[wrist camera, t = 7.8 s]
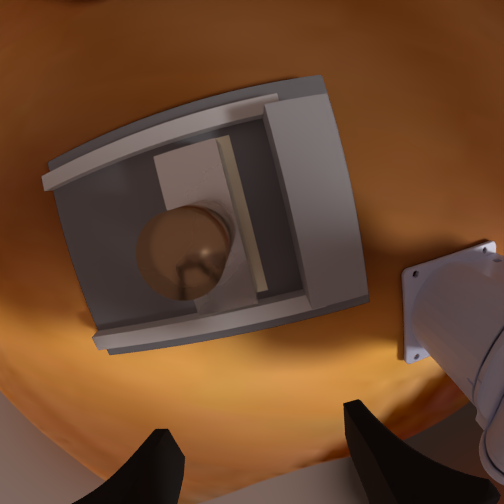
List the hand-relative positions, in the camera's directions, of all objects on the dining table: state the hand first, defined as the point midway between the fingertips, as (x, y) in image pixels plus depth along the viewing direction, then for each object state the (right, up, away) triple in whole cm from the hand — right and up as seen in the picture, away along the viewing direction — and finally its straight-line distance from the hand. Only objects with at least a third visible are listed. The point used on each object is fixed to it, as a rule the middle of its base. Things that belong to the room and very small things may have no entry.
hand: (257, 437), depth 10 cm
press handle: (-2, +9, +6) cm, 11 cm away
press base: (-3, +9, +8) cm, 12 cm away
